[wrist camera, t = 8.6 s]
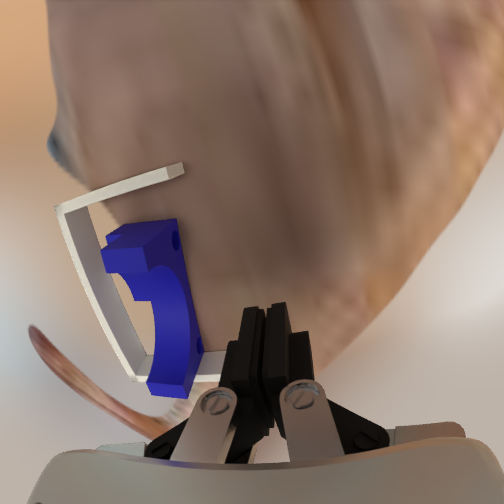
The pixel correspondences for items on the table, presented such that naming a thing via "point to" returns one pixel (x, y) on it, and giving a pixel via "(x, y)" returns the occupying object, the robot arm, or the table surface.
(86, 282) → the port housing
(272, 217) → the table surface
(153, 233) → the cable clip
